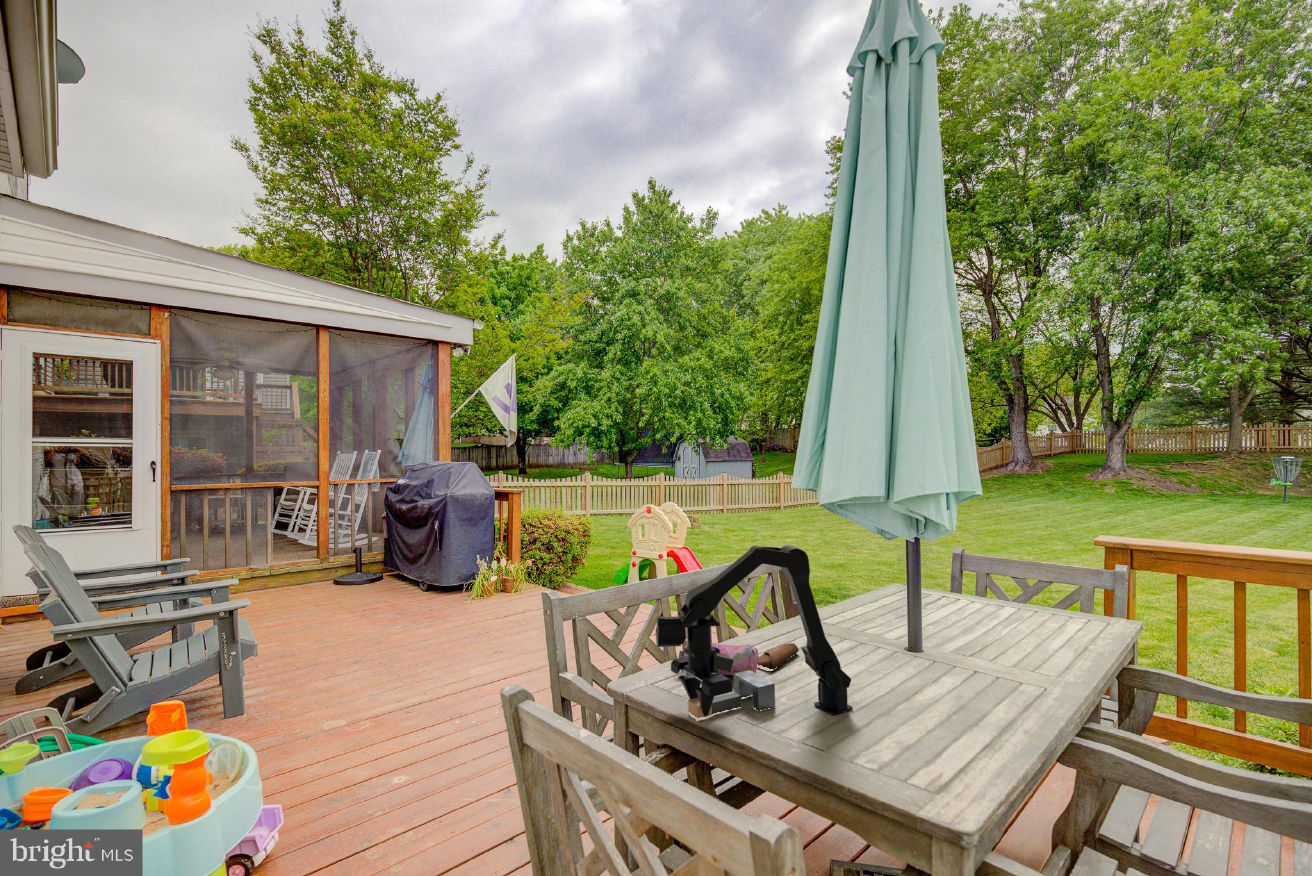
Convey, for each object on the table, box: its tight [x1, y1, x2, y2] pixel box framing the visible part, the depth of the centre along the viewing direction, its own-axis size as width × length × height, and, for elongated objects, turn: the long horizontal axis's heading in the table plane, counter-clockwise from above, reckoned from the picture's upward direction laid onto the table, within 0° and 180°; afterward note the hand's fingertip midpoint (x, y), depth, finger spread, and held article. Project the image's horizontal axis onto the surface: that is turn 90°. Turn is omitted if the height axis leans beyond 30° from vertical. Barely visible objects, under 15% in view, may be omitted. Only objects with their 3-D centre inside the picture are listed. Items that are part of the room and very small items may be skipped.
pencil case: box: [678, 638, 759, 676], centre depth 158 cm, size 21×9×9 cm, turn 64°
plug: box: [687, 691, 742, 718], centre depth 133 cm, size 4×13×4 cm, turn 117°
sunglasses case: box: [757, 642, 800, 669], centre depth 166 cm, size 18×7×7 cm, turn 142°
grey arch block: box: [733, 670, 776, 712], centre depth 138 cm, size 10×5×6 cm, turn 27°
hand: (701, 711), depth 131 cm, fingers closed on plug, 4 cm apart
